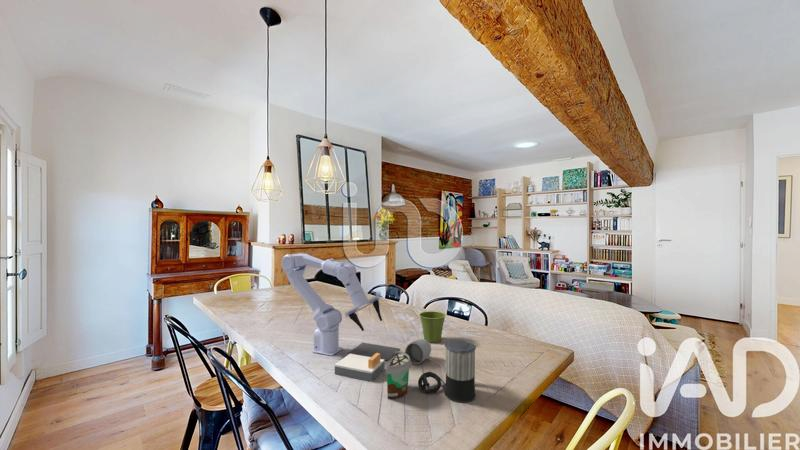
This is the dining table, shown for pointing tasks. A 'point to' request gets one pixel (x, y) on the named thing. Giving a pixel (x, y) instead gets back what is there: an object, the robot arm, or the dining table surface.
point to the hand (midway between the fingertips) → (372, 325)
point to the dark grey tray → (360, 373)
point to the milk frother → (455, 372)
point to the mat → (374, 350)
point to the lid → (361, 363)
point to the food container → (398, 375)
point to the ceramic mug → (418, 351)
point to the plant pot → (432, 325)
